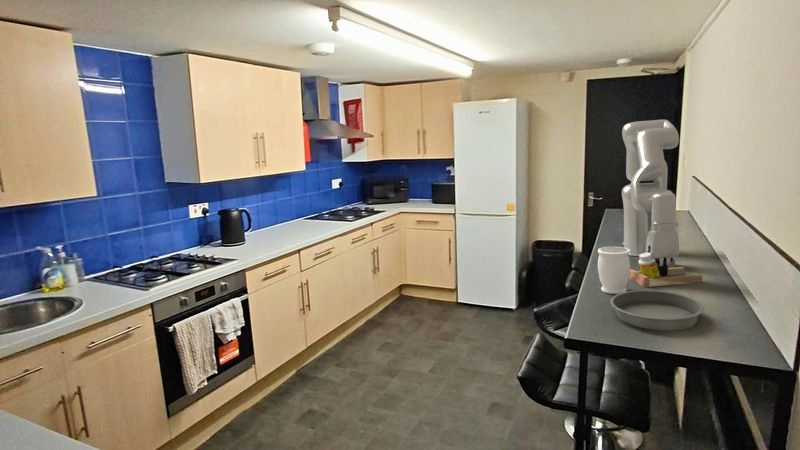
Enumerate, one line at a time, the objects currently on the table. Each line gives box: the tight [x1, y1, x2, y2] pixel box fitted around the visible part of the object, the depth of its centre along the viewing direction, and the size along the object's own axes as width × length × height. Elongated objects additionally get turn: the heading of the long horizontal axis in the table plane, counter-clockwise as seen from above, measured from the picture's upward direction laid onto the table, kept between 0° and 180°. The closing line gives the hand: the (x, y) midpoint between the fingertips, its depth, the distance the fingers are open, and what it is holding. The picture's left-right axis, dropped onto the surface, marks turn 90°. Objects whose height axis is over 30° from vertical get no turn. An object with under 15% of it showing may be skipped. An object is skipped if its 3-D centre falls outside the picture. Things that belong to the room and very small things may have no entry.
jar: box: [597, 246, 631, 295], centre depth 163 cm, size 11×10×15 cm
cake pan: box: [610, 289, 705, 331], centre depth 139 cm, size 25×25×4 cm
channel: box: [628, 266, 703, 288], centre depth 170 cm, size 12×21×4 cm, turn 92°
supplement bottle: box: [638, 253, 661, 279], centre depth 169 cm, size 6×6×10 cm
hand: (662, 275), depth 170 cm, fingers closed
